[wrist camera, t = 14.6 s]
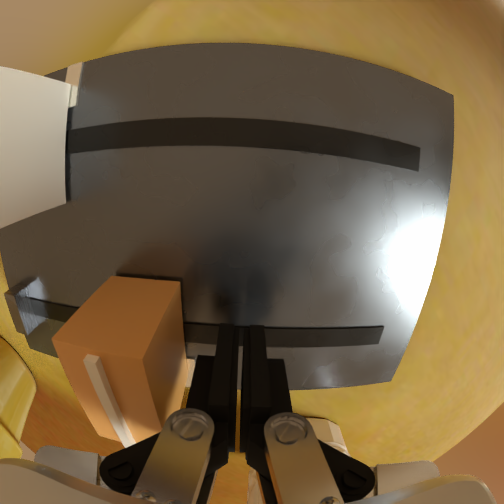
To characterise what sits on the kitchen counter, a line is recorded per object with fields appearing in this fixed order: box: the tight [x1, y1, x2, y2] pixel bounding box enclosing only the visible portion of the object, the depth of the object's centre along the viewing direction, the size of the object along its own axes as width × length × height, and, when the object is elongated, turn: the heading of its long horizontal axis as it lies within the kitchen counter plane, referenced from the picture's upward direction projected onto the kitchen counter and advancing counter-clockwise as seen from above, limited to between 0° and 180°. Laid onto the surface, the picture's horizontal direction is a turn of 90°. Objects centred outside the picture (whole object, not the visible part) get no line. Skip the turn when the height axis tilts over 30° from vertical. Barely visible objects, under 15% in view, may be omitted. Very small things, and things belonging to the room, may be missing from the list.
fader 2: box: [52, 276, 188, 448], centre depth 9 cm, size 3×5×5 cm, turn 176°
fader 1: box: [0, 66, 71, 229], centre depth 6 cm, size 3×5×5 cm, turn 176°
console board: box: [0, 43, 454, 390], centre depth 10 cm, size 22×15×3 cm
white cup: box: [247, 418, 351, 504], centre depth 12 cm, size 8×8×10 cm
